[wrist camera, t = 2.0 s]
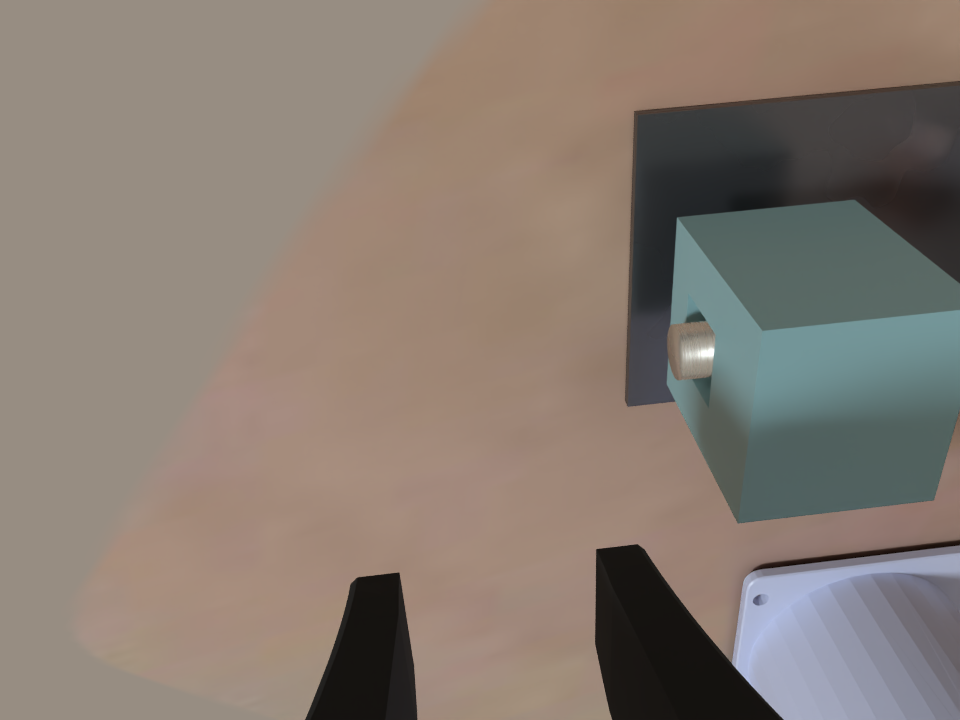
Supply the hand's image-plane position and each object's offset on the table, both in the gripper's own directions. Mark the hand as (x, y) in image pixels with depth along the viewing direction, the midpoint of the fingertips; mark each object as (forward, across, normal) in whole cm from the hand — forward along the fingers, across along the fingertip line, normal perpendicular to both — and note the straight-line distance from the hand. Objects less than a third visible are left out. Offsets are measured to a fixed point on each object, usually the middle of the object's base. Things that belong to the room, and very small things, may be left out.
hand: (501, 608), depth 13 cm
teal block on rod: (+8, -7, 0) cm, 11 cm away
